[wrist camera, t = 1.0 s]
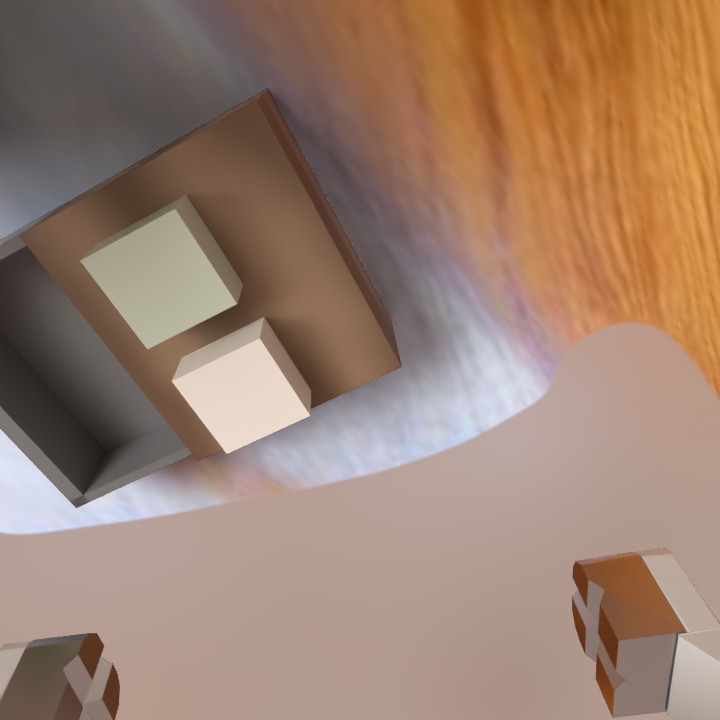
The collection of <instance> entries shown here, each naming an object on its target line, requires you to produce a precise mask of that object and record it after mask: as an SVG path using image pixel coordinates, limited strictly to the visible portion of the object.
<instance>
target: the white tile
mask: <svg viewBox="0 0 720 720" xmlns="http://www.w3.org/2000/svg"><path fill="white" fill-rule="evenodd" d="M172 382H173V384H174V385H175V386H176V388H177V389H178V390H179V392H180V393H181V394H182V396H183V397H184V398H185V400H186V401H187V402H188V404H189V405H190V406H191V407H192V409H193V410H194V411H195V413H196V414H197V415H198V417H199V418H200V419H201V421H202V422H203V423H204V425H205V426H206V427H207V429H208V430H209V431H210V432H211V434H212V435H213V436H214V438H215V439H216V440H217V442H218V443H219V444H220V446H221V447H222V448H223V450H224V451H225V452H226V454H228V453H230V452H232V451H234V450H237V449H239V448H241V447H243V446H245V445H247V444H250V443H252V442H254V441H256V440H258V439H261V438H263V437H265V436H267V435H269V434H271V433H274V432H276V431H278V430H280V429H282V428H285V427H287V426H289V425H291V424H293V423H295V422H298V421H300V420H302V419H304V418H306V417H309V416H310V412H311V389H310V388H309V386H308V385H307V383H306V382H305V380H304V378H303V377H302V375H301V374H300V372H299V371H298V369H297V368H296V366H295V364H294V363H293V361H292V360H291V358H290V357H289V355H288V353H287V352H286V350H285V349H284V347H283V346H282V344H281V342H280V341H279V339H278V338H277V336H276V335H275V333H274V332H273V330H272V328H271V327H270V325H269V324H268V322H267V321H266V319H265V317H263V318H261V319H259V320H257V321H255V322H253V323H251V324H249V325H247V326H245V327H243V328H241V329H239V330H237V331H235V332H233V333H231V334H229V335H226V336H224V337H222V338H220V339H218V340H216V341H214V342H212V343H210V344H208V345H206V346H204V347H202V348H200V349H198V350H196V351H194V352H192V353H190V354H188V355H186V356H184V357H182V358H181V361H180V363H179V365H178V368H177V370H176V372H175V375H174V377H173V379H172Z"/></svg>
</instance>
